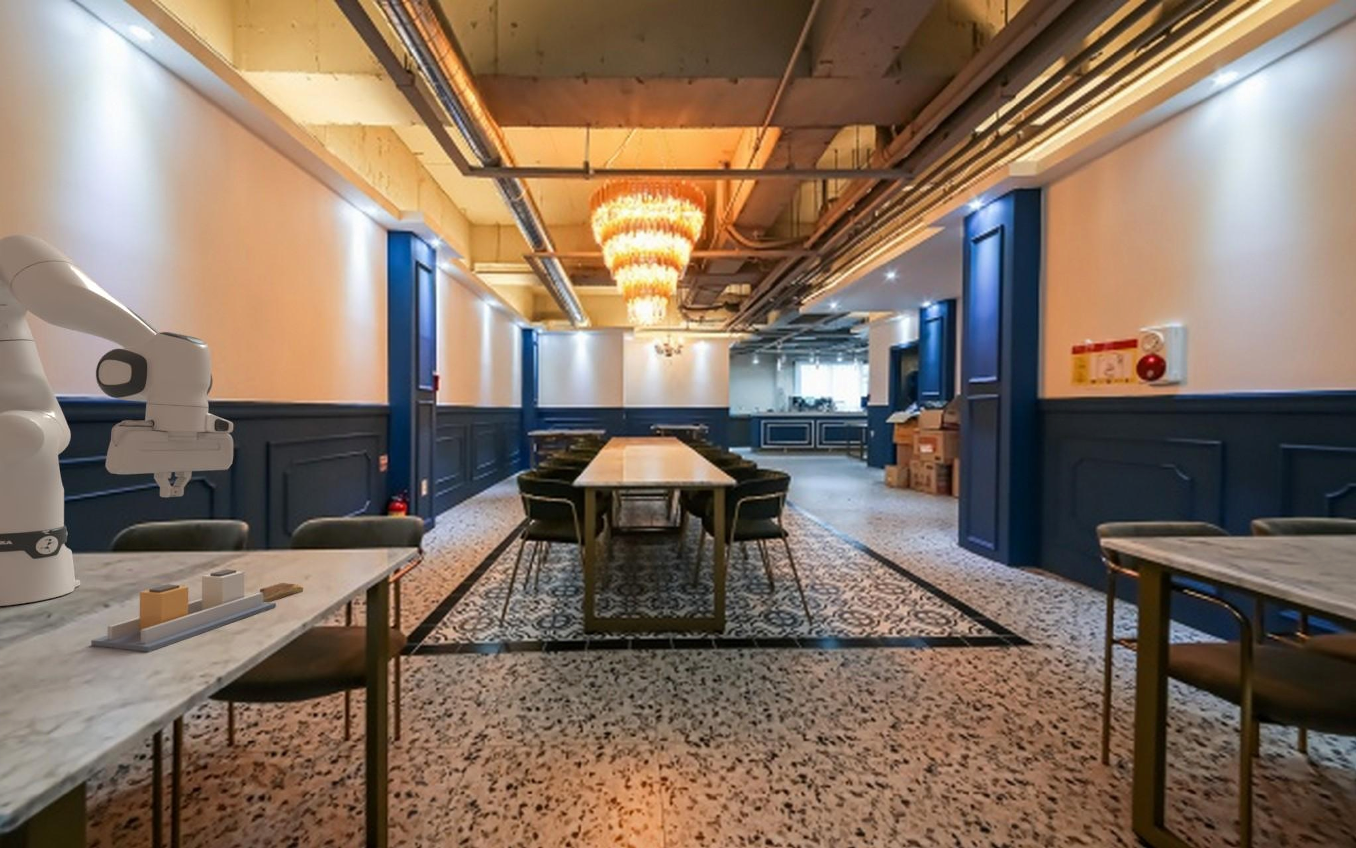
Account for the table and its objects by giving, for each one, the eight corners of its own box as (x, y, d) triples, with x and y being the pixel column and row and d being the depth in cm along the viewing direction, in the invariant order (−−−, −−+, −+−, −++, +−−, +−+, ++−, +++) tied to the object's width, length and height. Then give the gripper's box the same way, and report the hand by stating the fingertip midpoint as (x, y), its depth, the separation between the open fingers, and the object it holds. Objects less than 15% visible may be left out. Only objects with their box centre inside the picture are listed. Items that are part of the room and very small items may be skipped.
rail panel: (91, 645, 100) (91, 596, 100) (226, 602, 123) (227, 562, 123) (148, 651, 98) (149, 601, 97) (275, 607, 121) (276, 566, 121)
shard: (258, 607, 122) (258, 598, 122) (230, 604, 124) (230, 595, 124) (305, 592, 132) (304, 584, 132) (278, 589, 135) (278, 581, 135)
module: (139, 632, 104) (139, 589, 104) (166, 623, 108) (166, 583, 108) (161, 634, 103) (161, 591, 103) (188, 626, 107) (188, 584, 107)
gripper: (128, 420, 100) (121, 503, 99) (241, 424, 120) (236, 493, 119) (98, 418, 101) (92, 500, 101) (215, 422, 121) (210, 490, 121)
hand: (171, 496), depth 110 cm, fingers closed
